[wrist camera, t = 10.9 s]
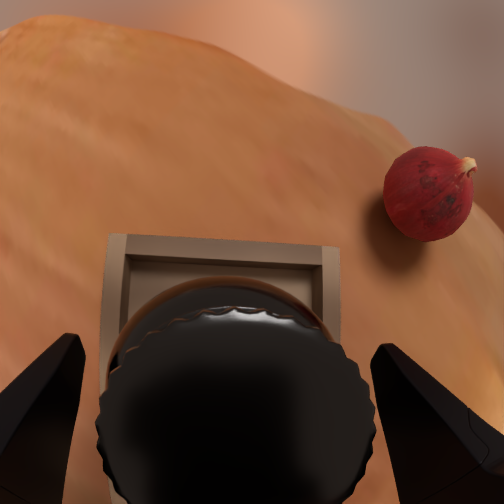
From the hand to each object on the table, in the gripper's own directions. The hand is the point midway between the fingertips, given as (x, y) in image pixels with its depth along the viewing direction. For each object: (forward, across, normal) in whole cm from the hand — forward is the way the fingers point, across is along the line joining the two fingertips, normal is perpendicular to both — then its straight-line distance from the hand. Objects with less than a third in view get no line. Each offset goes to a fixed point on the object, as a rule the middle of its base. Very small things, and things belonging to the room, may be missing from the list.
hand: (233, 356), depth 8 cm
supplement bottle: (+5, 0, +6) cm, 8 cm away
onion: (+12, -12, 0) cm, 17 cm away
